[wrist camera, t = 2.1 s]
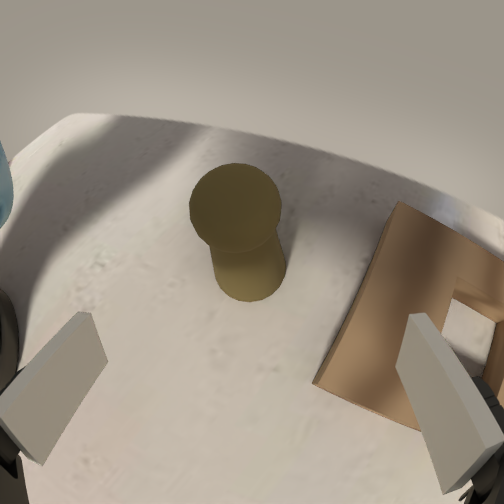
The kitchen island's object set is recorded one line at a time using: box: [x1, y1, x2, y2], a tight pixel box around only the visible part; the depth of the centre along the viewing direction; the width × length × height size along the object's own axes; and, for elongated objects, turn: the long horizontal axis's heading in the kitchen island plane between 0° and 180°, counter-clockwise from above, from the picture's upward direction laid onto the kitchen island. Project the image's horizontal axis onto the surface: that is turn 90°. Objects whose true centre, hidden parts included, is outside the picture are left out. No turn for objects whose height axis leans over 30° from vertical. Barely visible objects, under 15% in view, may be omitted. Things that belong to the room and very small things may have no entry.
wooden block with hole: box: [312, 201, 504, 432], centre depth 19 cm, size 22×16×4 cm
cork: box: [189, 163, 286, 302], centre depth 20 cm, size 6×6×11 cm
